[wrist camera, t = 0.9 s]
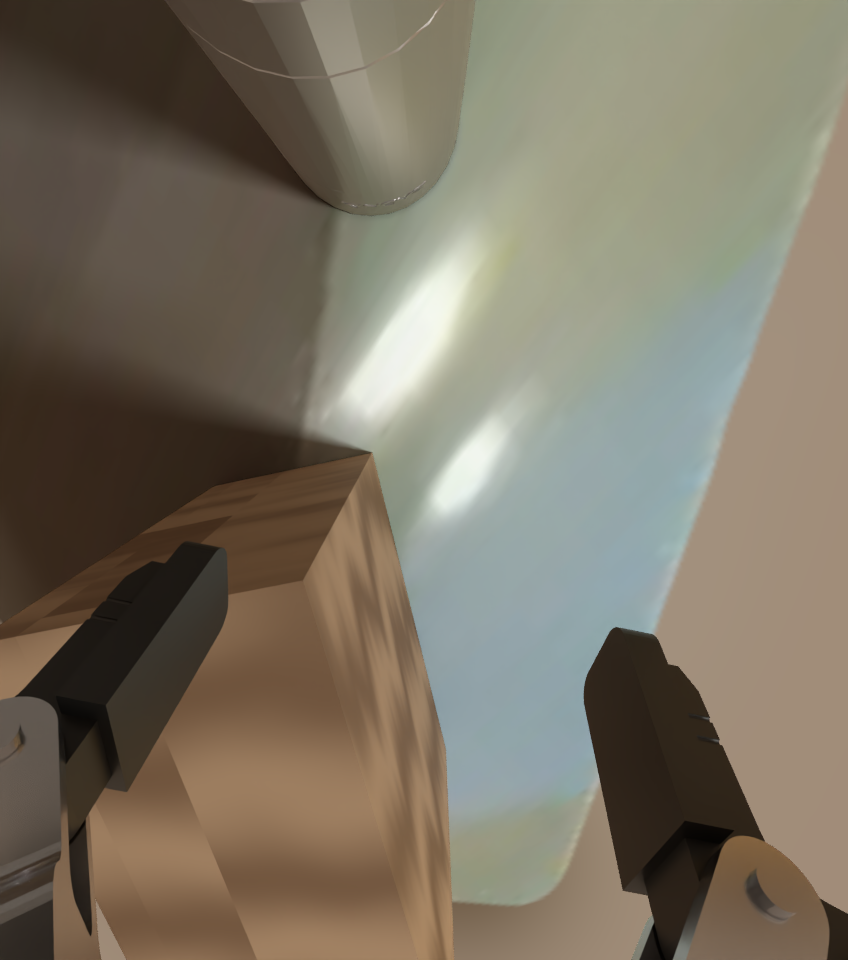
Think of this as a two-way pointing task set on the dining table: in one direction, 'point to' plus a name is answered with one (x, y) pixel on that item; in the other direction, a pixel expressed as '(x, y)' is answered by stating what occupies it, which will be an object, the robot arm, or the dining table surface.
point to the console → (276, 740)
